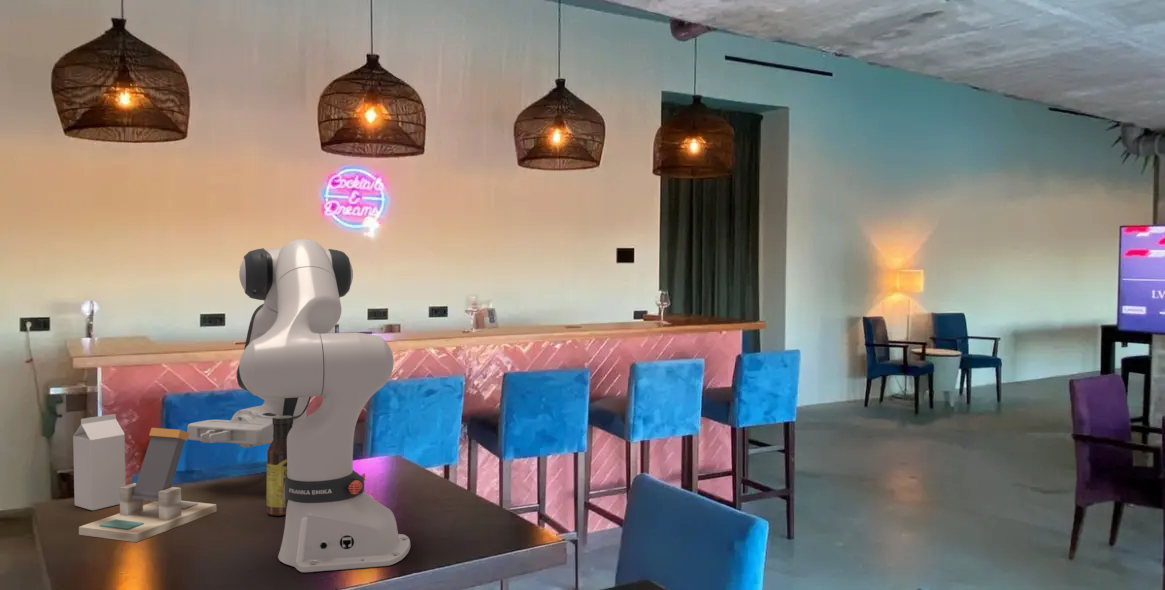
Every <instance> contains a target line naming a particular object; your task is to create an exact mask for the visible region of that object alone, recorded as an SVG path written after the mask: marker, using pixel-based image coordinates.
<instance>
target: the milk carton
mask: <svg viewBox="0 0 1165 590" xmlns="http://www.w3.org/2000/svg"><path fill="white" fill-rule="evenodd" d="M116 416H117V414H116V413H114V414H113V413H112V414H106V415H99V416H94V417H93V416H91V417H85V418H81V419H80V425H79V426H78V428H77V430H76V431H75V433H74V434H73V436H72V445H73V449H72V450H73V451H72V452H73V490H74V491H73V492H74V494H73V495H74V506H76V507H79V508H83V509H84V510H85V509H86V510H88V511H89V510H90V511H96V510H101V509H105V508H109V507H113V506H118V505H120V487H123V486H126V485H127V484H126V451H125V450H126V445H125V444H126V442H125V438H126V437H125V434H126V433H125V432H124V430H123V429H122V426H120V424H119V422H118V420H117V417H116Z"/></svg>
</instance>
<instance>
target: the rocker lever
mask: <svg viewBox="0 0 1165 590" xmlns="http://www.w3.org/2000/svg"><path fill="white" fill-rule="evenodd" d="M188 436H189V432H187V430H186V431H185V430H182V429H176V428H175V429H172V428H162V427H161V428H160V427H151V428H150V431H149V437H150V440H149V443H148V445H147V448H146V452H145V455H144V458H143V462H142V464H141V467H140V471H139V474H138V477H137V479H136V482H135V483H136V486H135V489H134V492H133V495H132V498H134V499H139V500H143V501H148V502H149V501H150V502H155V501H157V502H159V496H158V492H159V491H162V490H165V489H168V488H171V487H172V483H173V481H174V478H175V474H176V472H177V468H178V465H179V461H180V458H181V455H182V451H183V448H184V444H185V441H188V440H189V439H188Z"/></svg>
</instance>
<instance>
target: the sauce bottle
mask: <svg viewBox="0 0 1165 590" xmlns="http://www.w3.org/2000/svg"><path fill="white" fill-rule="evenodd" d="M272 421H273V441H272V443H271V444H269V446H268V448H267V451H266V455H267V457H266V460H267V461H266V491H265V493H266V496H265V497H266V498H265V499H266V501H265V502H266V503H265V504H266V507H267V508H266V510H267V511H266V512H267V514H268V515H270V516H286V509H287V508H286V507H285V501H284V484H285V476H286V475H287V436H288V433H289V431H290V429H291V428H292V424H293V416H275V417H273V420H272Z"/></svg>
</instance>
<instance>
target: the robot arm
mask: <svg viewBox="0 0 1165 590" xmlns="http://www.w3.org/2000/svg"><path fill="white" fill-rule="evenodd" d="M240 263H241V264H240V267H239V272H238V273H239V274H238V275H239V282H240V284H241V288H242V289H243V290H244V293H245V295H246V296H248V298H250V299H253V300H259V301H263V303H262V304H259V306H258V307H257V308H256V309H255V310H254V311H253V314H252V315H251V319H250V321H249V326H248V329H247V334H246V339H245V343H244V347H243V349H244V350H243V352H242V354H241V357H240V360H239V363H238V365H237V366H238V367H237V368H236V369H237V370H236V381H237V384H238V386H239V388H240V389H242V390H243V391H246V392H247V393H249V394H251V395H253V396H254V397H256V396H257V397H259V398H260V399H262V400H264V401H263V403H262V404H261V405H256V406H252V407H248V408H243V409H239V410H238V411H236V412H235V413H234V414H233V415H232V417H231V418H230V420H228V419H206V420H201V421H196V422H191V423H188V425H187V427H186V428H187V430H186V432H189V436H188V440H190V441H198V442H199V441H200V443H207V444H208V443H209V444H213V443H227V444H237V445H238V446H240V447H242V448H252V447H255V446H256V447H257V446H263V445H270V444H271V443H272V441H273V421H272V420H273V417H275V416H293V424H292V428H291V429H290V431H289V433H288V436H287V475H286V476H285V484H284V501H285V507H286V508H287V509H286V515H285V522H284V528H283V529H284V530H283V535H282V540H281V544H280V548H279V549H280V550H279V552H278V555H277V558H278V560H279V562H282V563H283V564H285V565H286V566H287V565H288V566H291V567H294V568H295V569H296V570H297V571H299V572H300V573H314V572H324V571H325V572H327V571H338V570H351V569H362V568H374V567H376V568H377V567H389V566H392V565H394V564H396V563H398V562H400V561H402V560H403V559H404V558H405V557H406V556H407V555H408V554H409V552H410V549H411V540H410V538H409V536H407V535H406V534H403V533H401V534H400V533H399V531H398V525H397V520H396V517H395V515H394V513H393V511H392V510H391V509H390V508H388V507H387V506H385V505H383V504H382V503H380V502H379V501H378V500H376V499H375V498H374V497H372V496H371V495H370V494H368V493H366V492H365V481H366V478H365V477H366V473H363V474H359V473H358V472H356V471H355V470H354V469H353V468H354V467H353V466H354V464H353V463H354V462H353V461H354V457H353V455H354V440H355V439H354V438H355V430H356V424H357V423H358V419H359V417H360V415H361V413H362V411H363V409H364V408H365V405H366V404H367V403H368V401H369V400H370V399H371V398H372V396H374V395H375V394H376V393H377V392H378V391H379V390H380V389H382V388H383V387H384V386H385V385H386V384H387V383H388V381H389V380H390V378H391V376H392V373H393V370H394V360H395V359H394V356H393V355H394V353H393V350H392V348H391V347H390V345H389V343H388V342H387V341H386V339H384V338H383V337H382V336H381V335H375V334H370V333H363V332H358V331H357V332H355V331H354V332H331V331H332V330H333V328H334V327H335V326H336V325H338V322H339V320H340V318H341V316H342V304H341V303H342V302H341V298H342V297H345V296H346V295H347V294H348V293H349V292H350V289H351V287H352V282H353V278H354V270H353V265H352V263H351V260H350V258H349V256H348V255H347V253H345V252H344V251H342V250H338V249H332V248H329V249H328V250H327V249H325V248H324V247H323V246H322V245H321V244H320V243H318V242H317V241H316V240H315V241H314V240H313V239H309V238H297V239H293V240H291V241H290V242H287V243H285V245H283V246H282V247H278V248H276V247H275V248H269V249H265V248H264V247H263V248H257V249H253V250H250V251H248V252H247V253H246V254H245V255H243V260H242V262H240ZM312 397H322V401H321V404H320V406H319V407H318V408H317V409H316V410H315V411H314V412H313V413H311V414H309V415H307V409H308V406H309V404H310V401H311V398H312Z"/></svg>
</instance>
